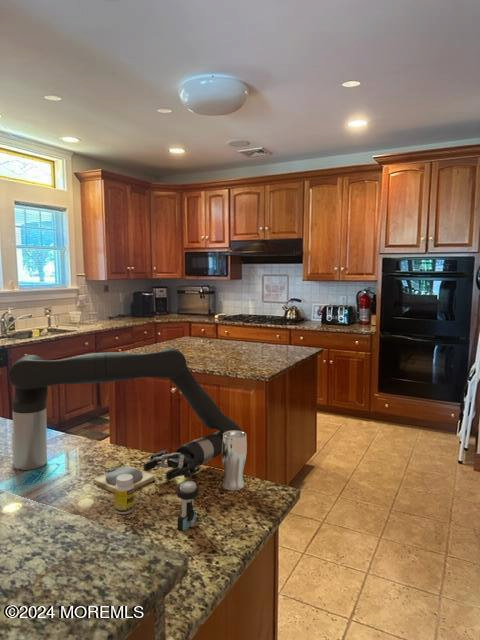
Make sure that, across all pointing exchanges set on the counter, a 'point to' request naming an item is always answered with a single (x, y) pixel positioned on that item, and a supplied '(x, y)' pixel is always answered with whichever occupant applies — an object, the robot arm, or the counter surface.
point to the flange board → (110, 478)
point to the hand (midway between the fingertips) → (155, 471)
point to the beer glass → (234, 459)
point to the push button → (187, 504)
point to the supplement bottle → (124, 494)
